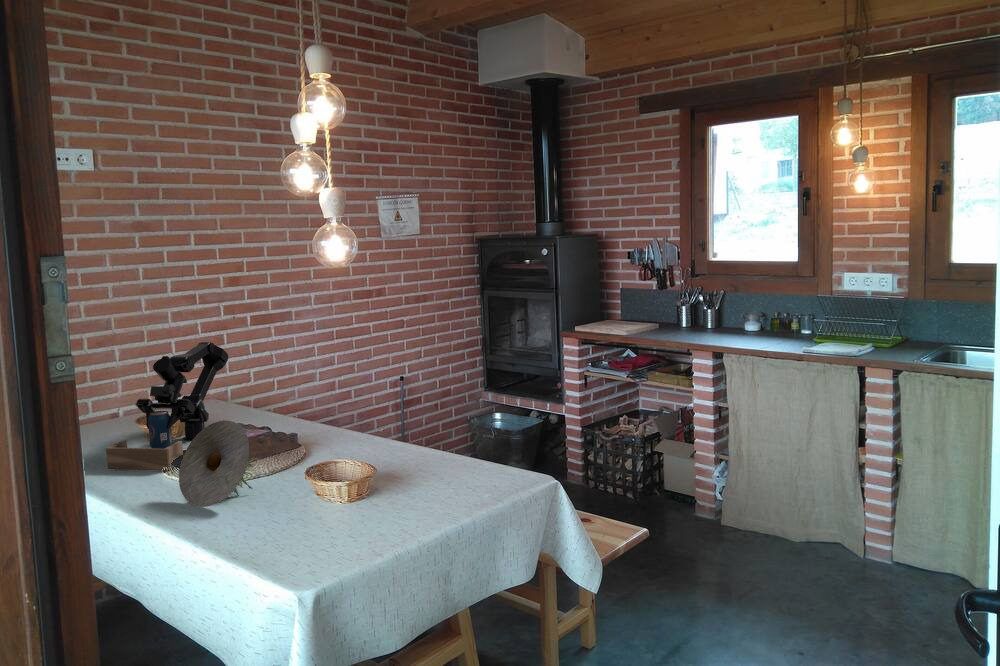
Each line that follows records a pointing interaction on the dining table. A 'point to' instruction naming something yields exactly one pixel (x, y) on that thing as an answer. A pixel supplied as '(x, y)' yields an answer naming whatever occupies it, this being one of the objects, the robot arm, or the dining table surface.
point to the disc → (215, 464)
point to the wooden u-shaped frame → (141, 457)
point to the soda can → (159, 430)
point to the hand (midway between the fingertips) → (157, 428)
